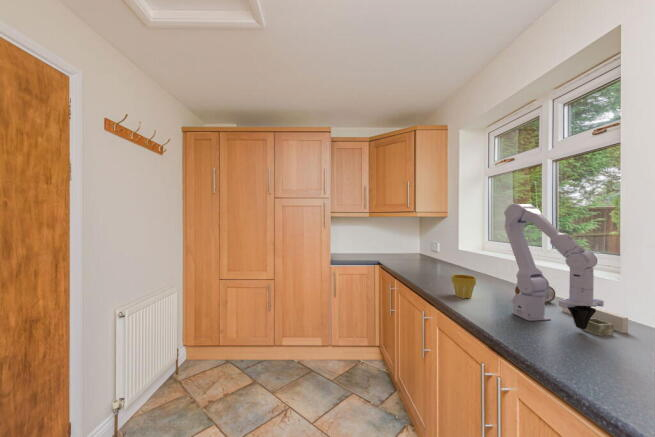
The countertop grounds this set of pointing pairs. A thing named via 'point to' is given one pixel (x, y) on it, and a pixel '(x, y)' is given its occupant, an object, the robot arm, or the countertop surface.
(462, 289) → the plant pot
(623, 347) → the countertop surface
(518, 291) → the tin
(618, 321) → the backstop wall
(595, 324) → the socket block
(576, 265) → the robot arm
